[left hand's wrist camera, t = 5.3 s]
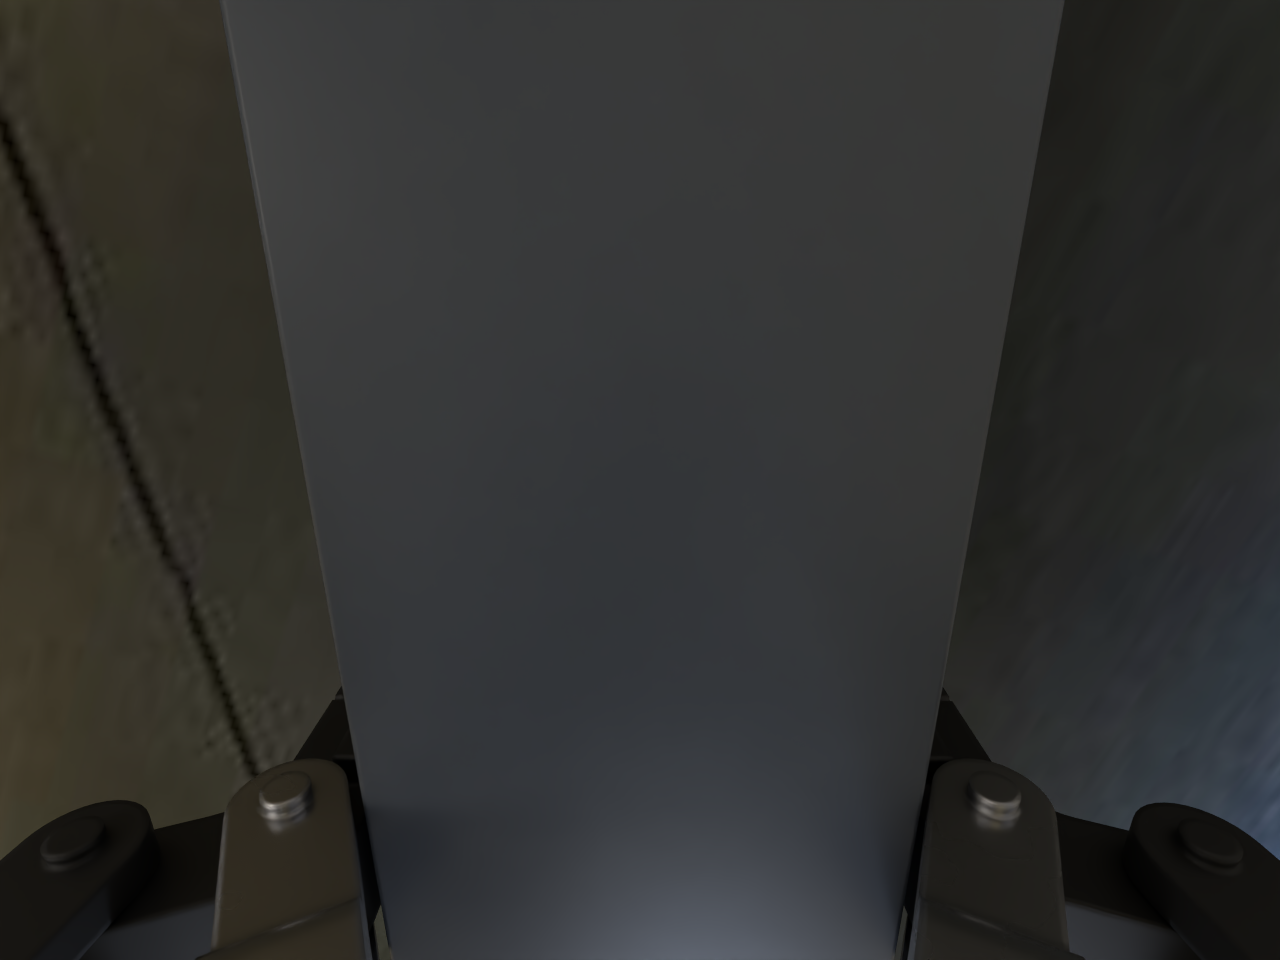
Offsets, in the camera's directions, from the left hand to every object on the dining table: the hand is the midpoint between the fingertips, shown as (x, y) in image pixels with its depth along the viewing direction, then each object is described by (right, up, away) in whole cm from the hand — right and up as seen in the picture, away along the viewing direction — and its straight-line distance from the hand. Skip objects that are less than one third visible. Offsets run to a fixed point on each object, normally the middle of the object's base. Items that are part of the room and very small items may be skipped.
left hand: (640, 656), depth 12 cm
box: (0, +11, +2) cm, 11 cm away
